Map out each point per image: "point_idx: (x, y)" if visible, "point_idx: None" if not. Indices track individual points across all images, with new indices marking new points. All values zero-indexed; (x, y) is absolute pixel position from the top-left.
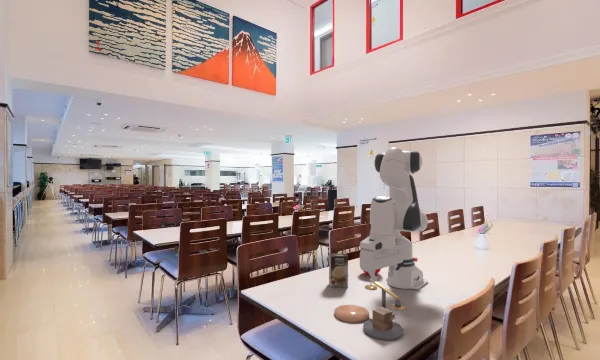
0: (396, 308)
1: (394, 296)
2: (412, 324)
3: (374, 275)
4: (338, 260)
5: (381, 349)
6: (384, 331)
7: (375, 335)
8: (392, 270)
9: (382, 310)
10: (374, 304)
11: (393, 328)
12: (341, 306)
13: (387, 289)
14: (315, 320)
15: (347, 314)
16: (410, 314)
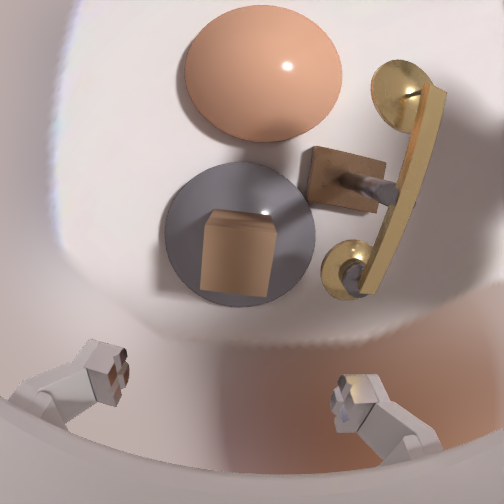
0: (323, 281)
1: (365, 277)
2: None
3: (72, 411)
4: None
5: (138, 294)
6: None
7: (168, 253)
8: (369, 433)
9: (237, 262)
10: None
11: None
12: (275, 12)
13: (403, 224)
14: (121, 29)
15: (227, 70)
16: (421, 241)
